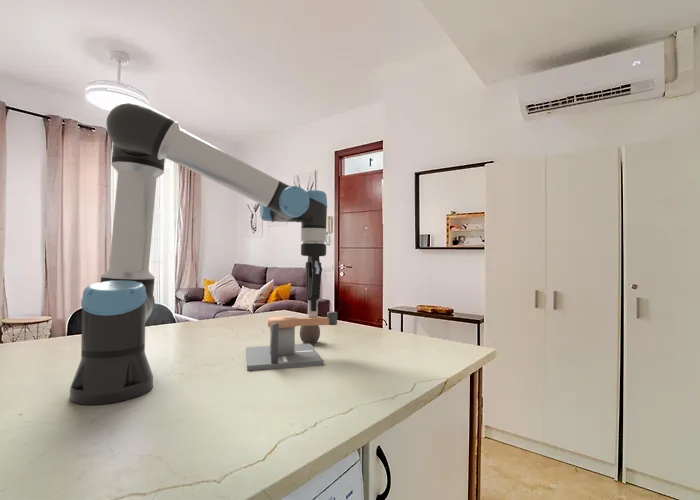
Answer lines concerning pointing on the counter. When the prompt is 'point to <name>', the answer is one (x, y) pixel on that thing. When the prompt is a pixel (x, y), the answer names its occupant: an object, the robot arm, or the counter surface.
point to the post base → (293, 361)
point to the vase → (310, 334)
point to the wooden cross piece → (303, 320)
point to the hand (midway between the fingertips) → (312, 321)
